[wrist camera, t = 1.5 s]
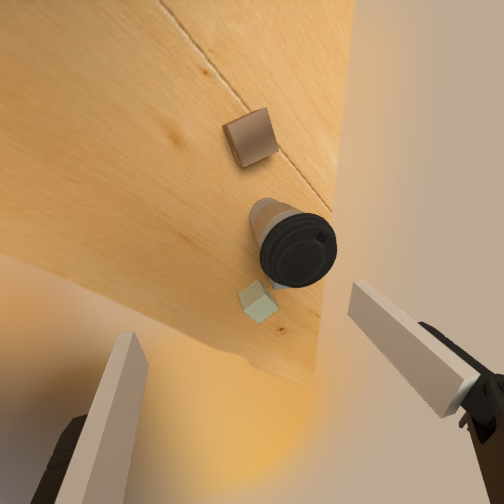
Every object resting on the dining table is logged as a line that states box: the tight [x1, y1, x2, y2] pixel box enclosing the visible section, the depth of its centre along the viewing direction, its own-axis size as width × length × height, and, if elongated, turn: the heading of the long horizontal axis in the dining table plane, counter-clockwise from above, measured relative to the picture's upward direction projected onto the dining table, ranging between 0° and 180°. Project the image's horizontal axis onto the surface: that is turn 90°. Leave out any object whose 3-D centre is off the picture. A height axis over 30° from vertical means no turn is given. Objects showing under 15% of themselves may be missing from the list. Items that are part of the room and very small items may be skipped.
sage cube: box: [238, 279, 279, 324], centre depth 43 cm, size 5×5×5 cm
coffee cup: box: [249, 198, 337, 288], centre depth 31 cm, size 9×9×15 cm
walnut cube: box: [222, 107, 279, 167], centre depth 29 cm, size 5×5×5 cm
